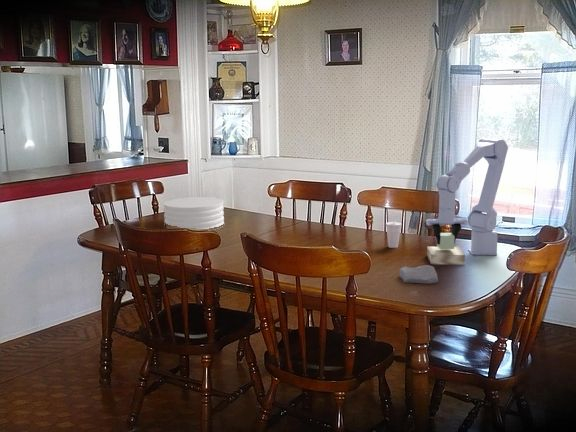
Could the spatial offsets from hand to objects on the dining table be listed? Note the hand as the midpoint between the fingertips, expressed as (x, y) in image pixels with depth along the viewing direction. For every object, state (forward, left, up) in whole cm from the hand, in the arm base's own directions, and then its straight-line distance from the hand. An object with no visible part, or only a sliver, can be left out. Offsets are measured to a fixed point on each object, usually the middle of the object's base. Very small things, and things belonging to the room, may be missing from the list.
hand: (445, 243), depth 242 cm
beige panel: (0, 0, -7) cm, 7 cm away
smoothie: (+18, -19, -6) cm, 27 cm away
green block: (0, 0, -1) cm, 1 cm away
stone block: (+12, +25, -7) cm, 29 cm away
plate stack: (+109, -58, -7) cm, 124 cm away
